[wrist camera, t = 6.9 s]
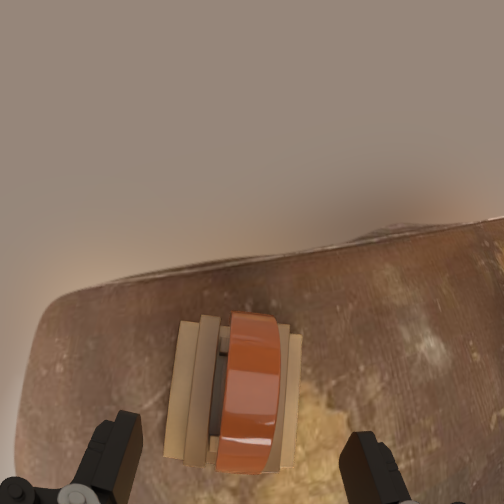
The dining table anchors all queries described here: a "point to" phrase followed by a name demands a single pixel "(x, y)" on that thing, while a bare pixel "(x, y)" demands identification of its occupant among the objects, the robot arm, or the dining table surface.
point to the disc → (248, 394)
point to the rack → (208, 389)
